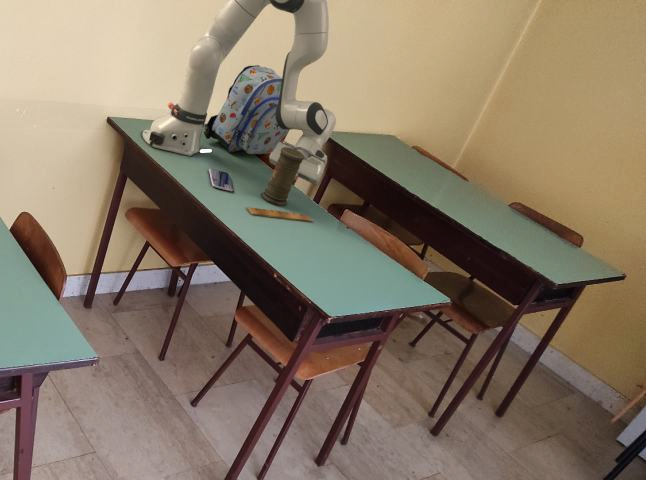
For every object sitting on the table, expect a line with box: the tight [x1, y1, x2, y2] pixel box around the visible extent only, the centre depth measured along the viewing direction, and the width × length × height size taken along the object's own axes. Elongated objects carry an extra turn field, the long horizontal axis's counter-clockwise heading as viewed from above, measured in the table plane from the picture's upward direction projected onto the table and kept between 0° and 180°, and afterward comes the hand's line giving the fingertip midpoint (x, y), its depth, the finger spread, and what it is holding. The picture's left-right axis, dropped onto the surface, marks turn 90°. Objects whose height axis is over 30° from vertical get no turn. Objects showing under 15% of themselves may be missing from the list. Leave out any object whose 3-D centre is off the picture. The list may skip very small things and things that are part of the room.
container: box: [262, 147, 304, 207], centre depth 212 cm, size 9×9×18 cm
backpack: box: [203, 64, 290, 155], centre depth 242 cm, size 33×25×31 cm
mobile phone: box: [208, 168, 234, 192], centre depth 216 cm, size 8×1×15 cm
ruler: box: [247, 207, 313, 223], centre depth 208 cm, size 24×4×1 cm, turn 110°
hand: (285, 182), depth 218 cm, fingers closed, pressing on container
